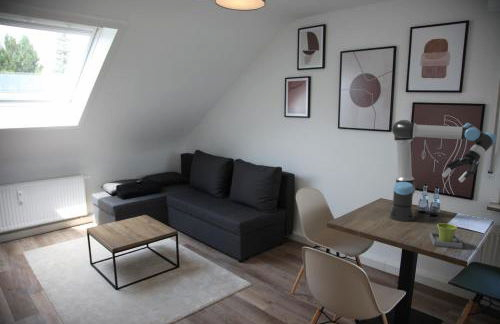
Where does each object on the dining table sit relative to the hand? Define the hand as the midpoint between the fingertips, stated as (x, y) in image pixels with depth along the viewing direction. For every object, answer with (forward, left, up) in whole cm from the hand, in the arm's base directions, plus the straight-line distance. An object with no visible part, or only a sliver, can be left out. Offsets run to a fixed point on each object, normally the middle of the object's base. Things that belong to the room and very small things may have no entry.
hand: (451, 178), depth 211 cm
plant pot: (-7, -32, -29) cm, 44 cm away
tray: (-7, -32, -30) cm, 44 cm away
